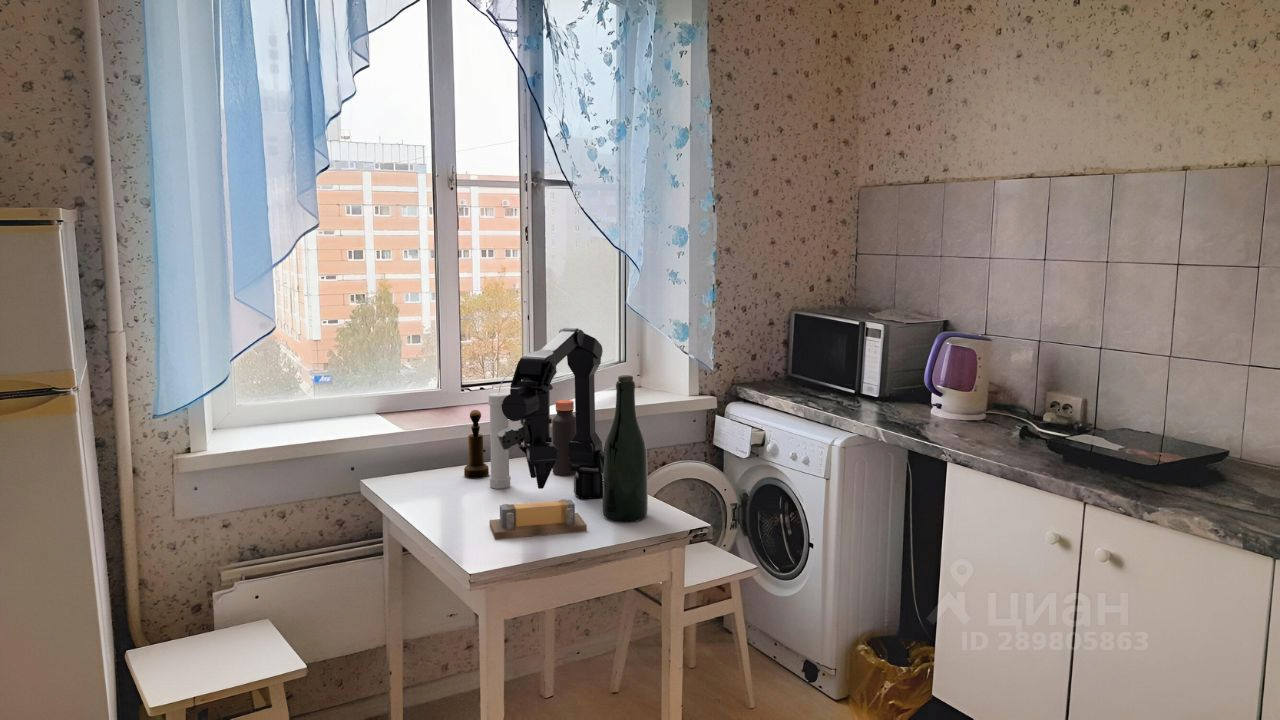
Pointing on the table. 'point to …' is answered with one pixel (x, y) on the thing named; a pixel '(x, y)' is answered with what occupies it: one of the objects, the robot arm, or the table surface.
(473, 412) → the pepper mill
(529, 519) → the bar
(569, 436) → the vinegar
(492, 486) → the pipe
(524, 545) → the table surface
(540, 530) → the rack
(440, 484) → the table surface
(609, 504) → the green wine bottle
